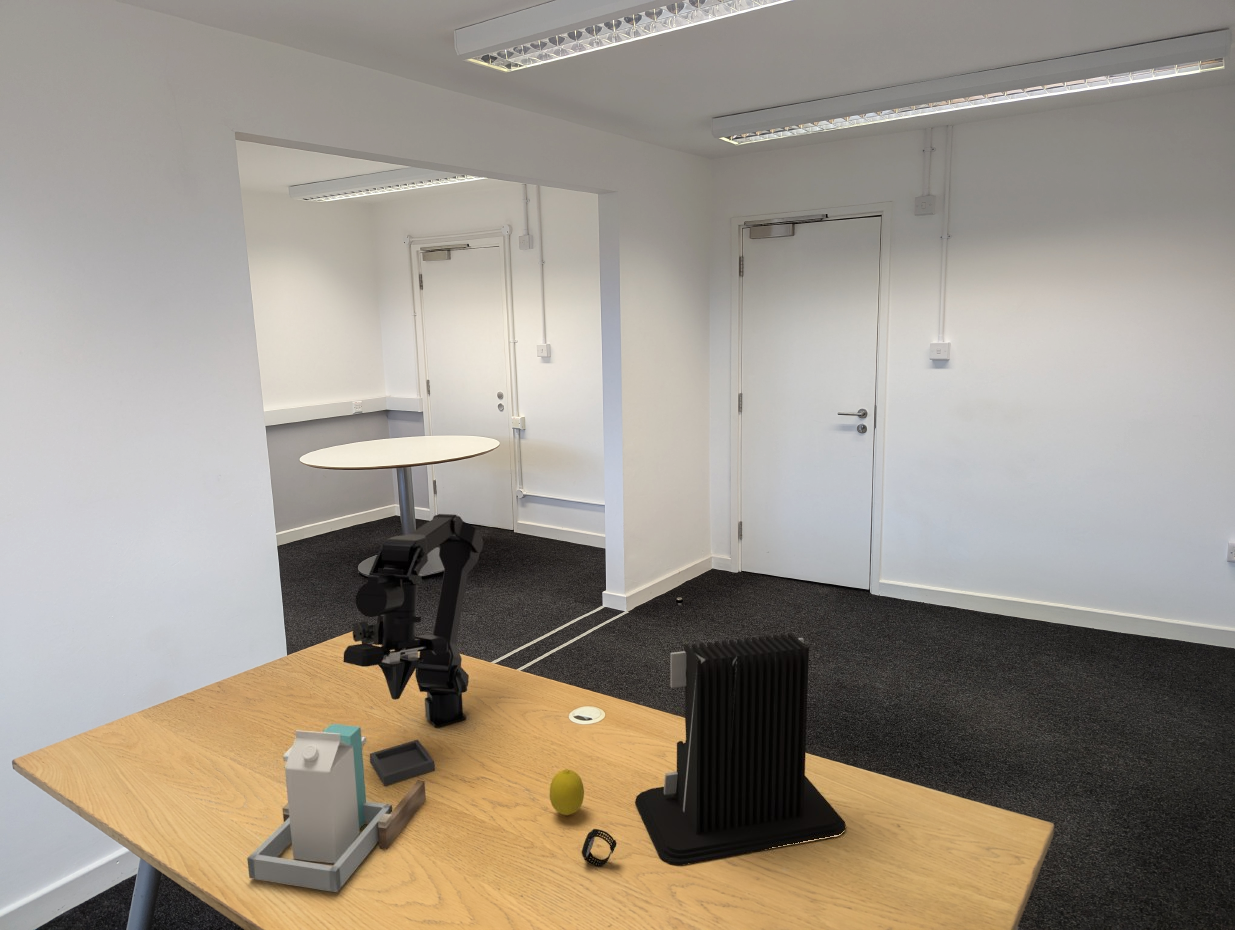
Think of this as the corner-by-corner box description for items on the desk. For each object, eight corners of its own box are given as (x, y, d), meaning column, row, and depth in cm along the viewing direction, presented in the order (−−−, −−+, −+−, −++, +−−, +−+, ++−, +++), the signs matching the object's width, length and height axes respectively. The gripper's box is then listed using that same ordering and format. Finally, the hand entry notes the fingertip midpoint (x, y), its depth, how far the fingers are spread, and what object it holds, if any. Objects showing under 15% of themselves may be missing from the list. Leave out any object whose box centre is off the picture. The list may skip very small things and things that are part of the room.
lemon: (589, 808, 132) (588, 763, 130) (576, 828, 127) (575, 782, 125) (558, 802, 133) (557, 758, 132) (544, 821, 128) (543, 776, 127)
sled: (314, 812, 131) (306, 720, 128) (393, 823, 127) (386, 729, 125) (249, 878, 115) (238, 776, 112) (337, 892, 112) (328, 787, 109)
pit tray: (418, 748, 151) (417, 739, 151) (434, 770, 143) (434, 761, 143) (370, 762, 146) (369, 753, 146) (384, 786, 139) (383, 776, 138)
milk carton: (318, 830, 127) (308, 718, 123) (360, 834, 126) (351, 722, 122) (292, 860, 120) (281, 742, 117) (337, 864, 119) (327, 746, 115)
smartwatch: (594, 850, 121) (593, 820, 120) (620, 864, 118) (620, 834, 117) (575, 864, 118) (574, 833, 117) (602, 879, 115) (601, 848, 114)
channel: (331, 787, 138) (329, 763, 138) (425, 799, 135) (424, 775, 134) (284, 834, 126) (282, 808, 125) (387, 849, 122) (385, 822, 121)
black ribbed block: (797, 771, 142) (802, 609, 137) (852, 835, 124) (861, 652, 119) (631, 797, 135) (629, 627, 130) (664, 869, 117) (663, 676, 112)
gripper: (411, 601, 155) (407, 683, 154) (326, 609, 139) (321, 700, 139) (451, 607, 148) (447, 693, 147) (366, 616, 133) (361, 712, 132)
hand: (395, 699), depth 142 cm, fingers closed
